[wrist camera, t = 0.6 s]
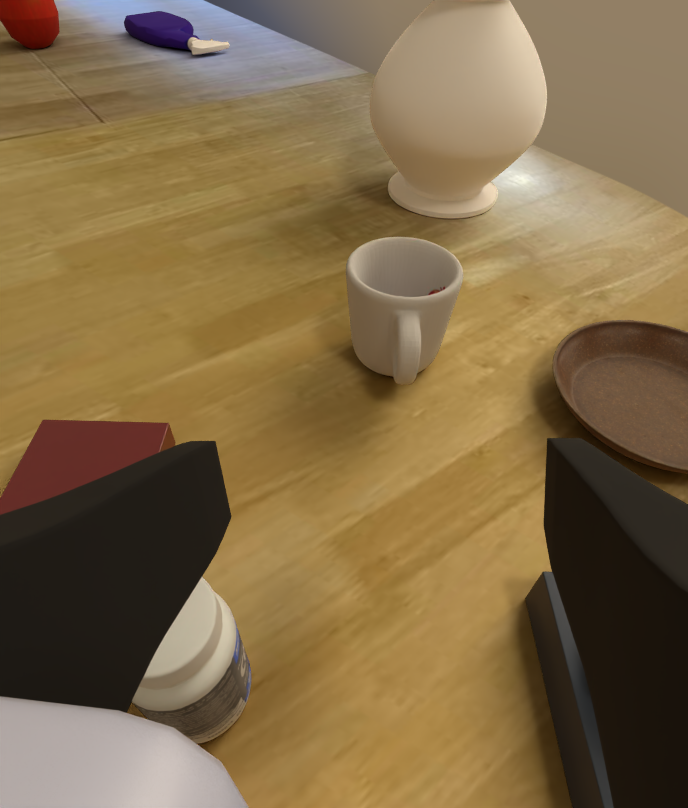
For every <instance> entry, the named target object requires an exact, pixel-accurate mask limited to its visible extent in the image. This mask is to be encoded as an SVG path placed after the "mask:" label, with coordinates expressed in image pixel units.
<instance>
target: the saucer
mask: <svg viewBox="0 0 688 808" xmlns="http://www.w3.org/2000/svg"><path fill="white" fill-rule="evenodd" d="M553 373H554V378H555V381H556V384H557V387H558V390H559V392H560V394H561V396H562V398H563V400H564V402H565V403H566V405H567V407H568V408H569V410H570V411H571V412H572V414H573V415H574V416H575V417H576V419H577V420H578V421H579V422H580V423H581V424H582V425H583V426H584V427H585V428H586V429H587V430H588V431H589V432H590V433H591V434H593V435H594V436H595V437H596V438H597V439H599V440H600V441H601V442H603V443H604V444H606V445H607V446H609V447H610V448H612V449H614V450H615V451H617V452H619V453H621V454H623V455H624V456H627V457H629V458H631V459H633V460H635V461H638V462H641V463H643V464H646V465H649V466H652V467H656V468H660V469H663V470H668V471H673V472H679V473H686V474H688V332H686V331H683V330H680V329H676V328H673V327H669V326H665V325H661V324H656V323H651V322H644V321H634V320H616V321H613V320H612V321H603V322H597V323H593V324H589V325H586V326H583V327H581V328H579V329H577V330H575V331H573V332H572V333H570V334H569V335H567V336H566V337H565V338H564V339H563V340H562V341H561V342H560V344H559V345H558V347H557V349H556V351H555V354H554V357H553Z"/></svg>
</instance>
